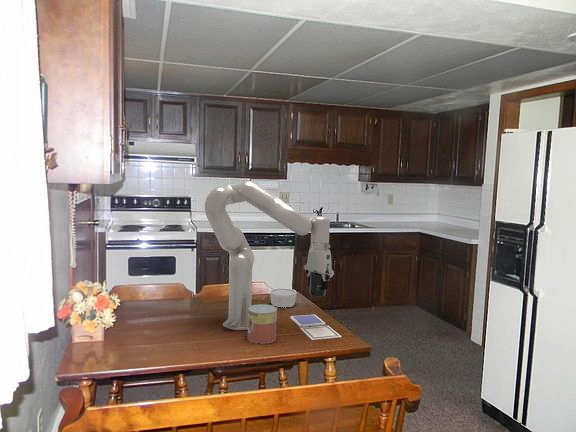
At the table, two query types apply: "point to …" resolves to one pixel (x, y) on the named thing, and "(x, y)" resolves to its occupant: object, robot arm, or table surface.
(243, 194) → the robot arm
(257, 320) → the canned food
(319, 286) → the supplement bottle
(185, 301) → the table surface
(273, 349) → the table surface
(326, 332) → the marked card
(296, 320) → the ink pad
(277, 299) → the ramekin
